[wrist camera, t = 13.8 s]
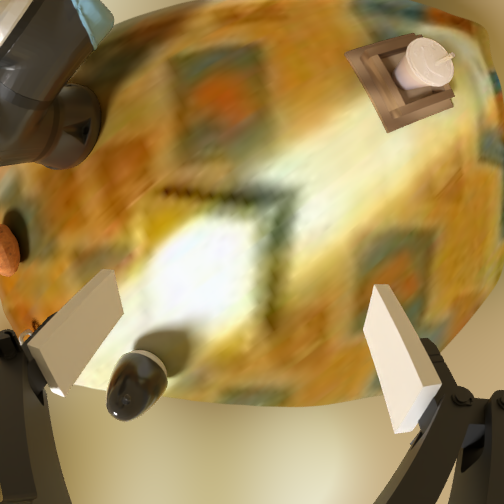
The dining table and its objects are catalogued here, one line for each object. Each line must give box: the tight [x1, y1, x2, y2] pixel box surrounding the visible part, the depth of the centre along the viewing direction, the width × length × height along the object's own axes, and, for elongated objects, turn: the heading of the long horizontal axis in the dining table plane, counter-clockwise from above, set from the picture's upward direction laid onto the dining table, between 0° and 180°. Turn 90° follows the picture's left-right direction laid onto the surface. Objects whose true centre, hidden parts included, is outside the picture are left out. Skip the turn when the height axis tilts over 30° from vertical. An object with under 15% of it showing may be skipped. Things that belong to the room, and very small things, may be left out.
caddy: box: [344, 33, 455, 133], centre depth 31 cm, size 13×13×4 cm
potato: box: [0, 225, 20, 276], centre depth 45 cm, size 9×11×8 cm
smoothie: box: [392, 37, 455, 90], centre depth 26 cm, size 6×6×14 cm
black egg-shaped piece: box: [106, 350, 168, 422], centre depth 45 cm, size 10×10×15 cm
